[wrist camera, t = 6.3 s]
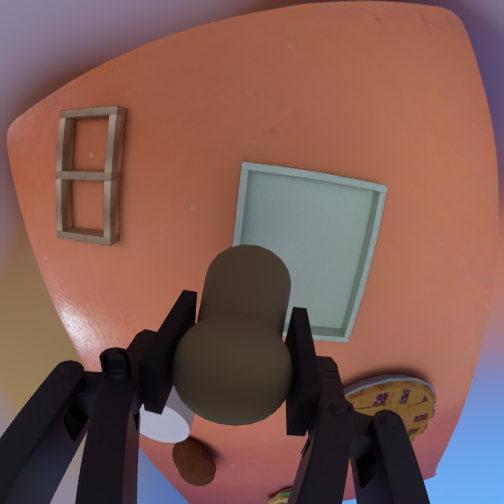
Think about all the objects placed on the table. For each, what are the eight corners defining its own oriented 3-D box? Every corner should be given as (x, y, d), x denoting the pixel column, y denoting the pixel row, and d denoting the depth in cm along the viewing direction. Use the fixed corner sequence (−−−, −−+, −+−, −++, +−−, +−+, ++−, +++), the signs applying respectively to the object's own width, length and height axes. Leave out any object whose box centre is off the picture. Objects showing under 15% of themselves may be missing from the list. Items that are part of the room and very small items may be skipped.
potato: (202, 432, 46) (194, 466, 39) (228, 463, 49) (223, 494, 42) (167, 434, 48) (156, 466, 40) (195, 465, 51) (188, 494, 43)
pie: (313, 372, 40) (317, 396, 36) (444, 355, 39) (457, 374, 34) (305, 453, 47) (306, 473, 42) (410, 437, 45) (417, 455, 41)
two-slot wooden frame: (71, 112, 31) (60, 110, 29) (127, 108, 31) (117, 105, 28) (67, 232, 36) (57, 237, 34) (119, 240, 36) (110, 246, 34)
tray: (244, 161, 32) (241, 161, 30) (379, 183, 32) (387, 186, 29) (226, 318, 38) (224, 329, 36) (344, 332, 38) (348, 343, 36)
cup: (151, 372, 42) (123, 427, 31) (159, 333, 40) (126, 390, 28) (200, 390, 43) (183, 449, 31) (213, 353, 40) (196, 416, 29)
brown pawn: (212, 324, 22) (173, 439, 12) (199, 247, 20) (132, 336, 10) (293, 320, 22) (304, 441, 11) (288, 240, 20) (306, 332, 9)
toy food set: (260, 496, 54) (260, 506, 51) (298, 478, 51) (298, 490, 47) (301, 506, 56) (301, 516, 53) (338, 489, 52) (340, 499, 49)
